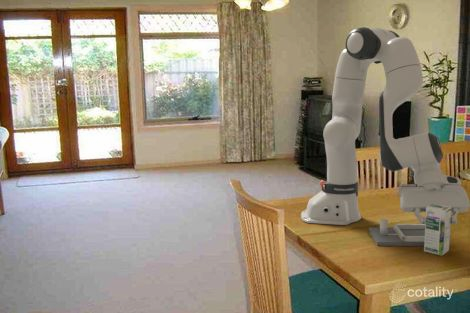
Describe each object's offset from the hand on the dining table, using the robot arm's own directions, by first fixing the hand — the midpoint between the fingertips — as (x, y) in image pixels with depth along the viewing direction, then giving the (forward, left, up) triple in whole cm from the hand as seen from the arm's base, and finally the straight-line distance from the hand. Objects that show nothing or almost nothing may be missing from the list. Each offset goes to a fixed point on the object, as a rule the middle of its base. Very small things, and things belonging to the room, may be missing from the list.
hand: (438, 223), depth 142 cm
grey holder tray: (-7, +12, -9) cm, 17 cm away
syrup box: (0, +1, -9) cm, 9 cm away
